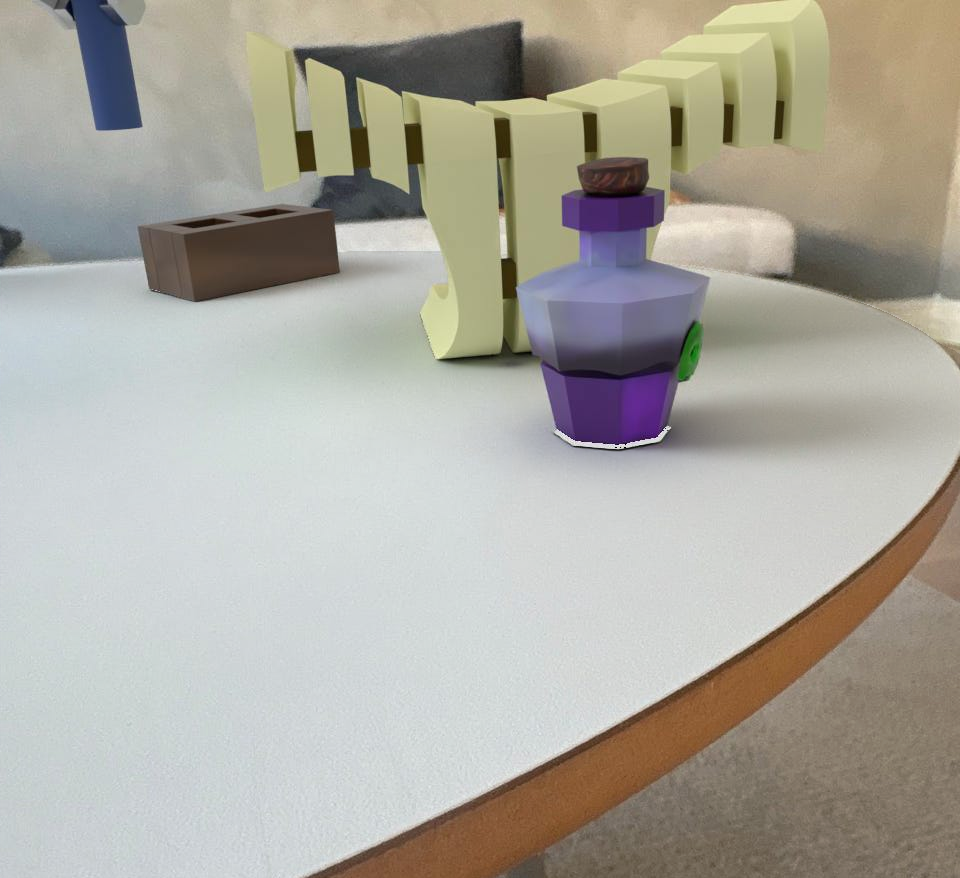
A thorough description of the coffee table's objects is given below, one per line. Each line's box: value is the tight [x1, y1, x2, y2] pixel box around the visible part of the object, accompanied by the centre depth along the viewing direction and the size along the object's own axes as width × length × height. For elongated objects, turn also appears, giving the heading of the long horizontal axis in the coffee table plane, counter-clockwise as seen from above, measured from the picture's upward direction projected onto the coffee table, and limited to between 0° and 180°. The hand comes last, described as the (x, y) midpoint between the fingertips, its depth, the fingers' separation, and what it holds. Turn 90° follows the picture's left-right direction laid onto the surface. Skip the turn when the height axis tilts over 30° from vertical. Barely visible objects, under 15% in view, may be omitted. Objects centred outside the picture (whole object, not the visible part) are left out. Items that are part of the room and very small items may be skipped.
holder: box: [137, 203, 341, 303], centre depth 89 cm, size 8×14×5 cm, turn 131°
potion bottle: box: [516, 157, 711, 448], centre depth 49 cm, size 9×9×12 cm
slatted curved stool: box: [245, 0, 831, 360], centre depth 65 cm, size 30×16×18 cm, turn 97°
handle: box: [71, 0, 143, 132], centre depth 65 cm, size 3×3×11 cm
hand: (106, 19), depth 65 cm, fingers closed on handle, 3 cm apart
